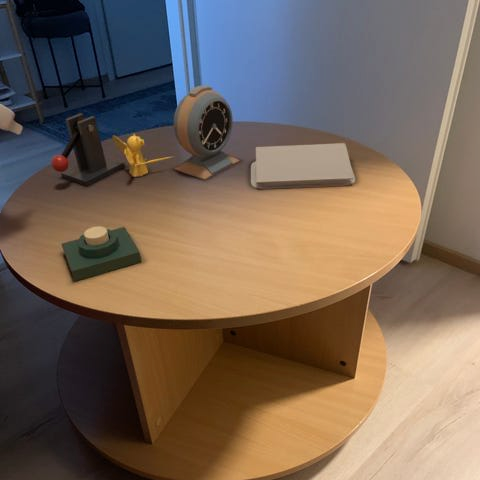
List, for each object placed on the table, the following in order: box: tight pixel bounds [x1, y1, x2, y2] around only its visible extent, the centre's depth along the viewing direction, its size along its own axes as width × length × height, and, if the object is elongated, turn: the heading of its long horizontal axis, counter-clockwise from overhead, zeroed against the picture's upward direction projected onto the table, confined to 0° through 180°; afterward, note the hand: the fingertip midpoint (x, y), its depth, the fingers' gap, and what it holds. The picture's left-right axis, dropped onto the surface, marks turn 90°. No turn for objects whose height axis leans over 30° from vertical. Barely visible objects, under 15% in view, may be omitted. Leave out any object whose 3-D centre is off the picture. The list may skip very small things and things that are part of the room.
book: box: [250, 142, 356, 190], centre depth 113 cm, size 15×23×4 cm, turn 89°
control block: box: [61, 226, 143, 282], centre depth 91 cm, size 12×10×4 cm
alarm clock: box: [173, 85, 241, 181], centre depth 115 cm, size 14×10×18 cm
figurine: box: [111, 132, 175, 178], centre depth 117 cm, size 12×12×9 cm
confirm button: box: [83, 226, 109, 246], centre depth 89 cm, size 4×4×2 cm
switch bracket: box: [60, 112, 126, 187], centre depth 117 cm, size 12×9×13 cm
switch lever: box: [51, 117, 86, 173], centre depth 113 cm, size 13×4×4 cm
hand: (5, 126), depth 99 cm, fingers open, 8 cm apart
